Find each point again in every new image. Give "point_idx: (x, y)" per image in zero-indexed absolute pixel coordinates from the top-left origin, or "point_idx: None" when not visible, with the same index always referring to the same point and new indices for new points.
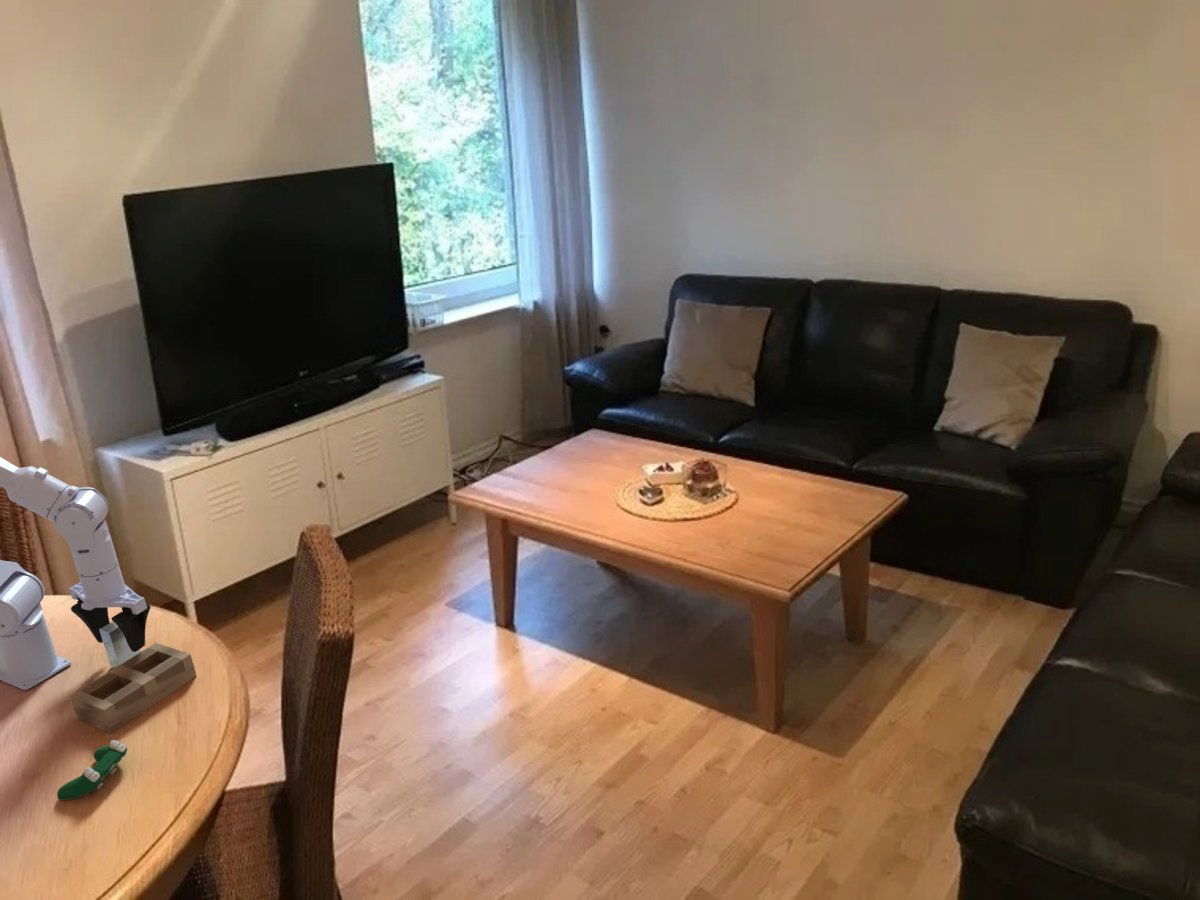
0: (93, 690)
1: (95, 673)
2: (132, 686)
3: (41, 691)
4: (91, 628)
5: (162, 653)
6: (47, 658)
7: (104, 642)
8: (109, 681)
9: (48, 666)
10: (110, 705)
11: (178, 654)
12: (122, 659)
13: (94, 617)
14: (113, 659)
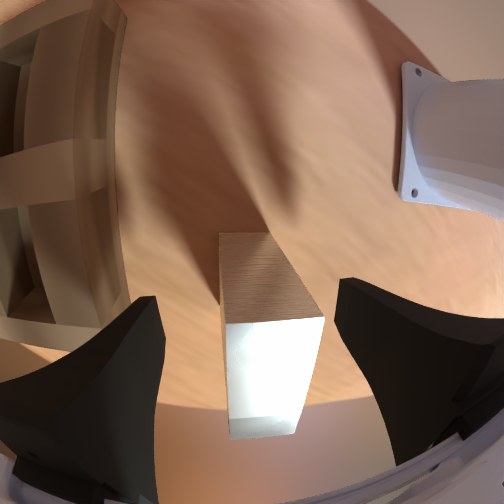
0: (38, 46)
1: (292, 188)
2: None
3: (367, 67)
4: (389, 303)
5: (41, 320)
6: (443, 145)
7: (287, 276)
8: (25, 109)
9: (425, 138)
10: None
11: (5, 327)
12: (219, 262)
13: (403, 358)
14: (244, 245)
